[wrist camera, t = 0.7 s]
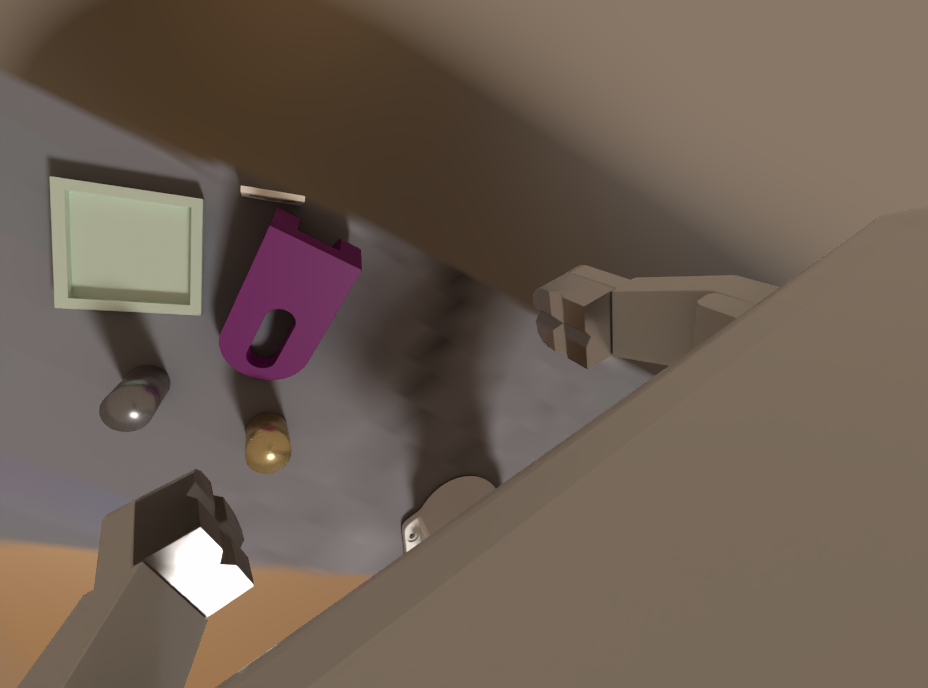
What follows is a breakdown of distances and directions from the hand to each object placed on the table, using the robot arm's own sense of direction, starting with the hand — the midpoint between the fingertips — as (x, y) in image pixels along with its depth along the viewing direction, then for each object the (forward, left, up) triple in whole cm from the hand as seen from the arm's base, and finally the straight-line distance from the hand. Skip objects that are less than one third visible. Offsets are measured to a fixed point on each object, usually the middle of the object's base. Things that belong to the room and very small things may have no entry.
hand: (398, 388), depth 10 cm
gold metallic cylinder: (-19, +1, -47) cm, 51 cm away
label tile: (+8, +1, -47) cm, 47 cm away
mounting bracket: (-3, 0, -47) cm, 47 cm away
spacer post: (-13, +13, -47) cm, 50 cm away
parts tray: (+1, +14, -47) cm, 49 cm away
